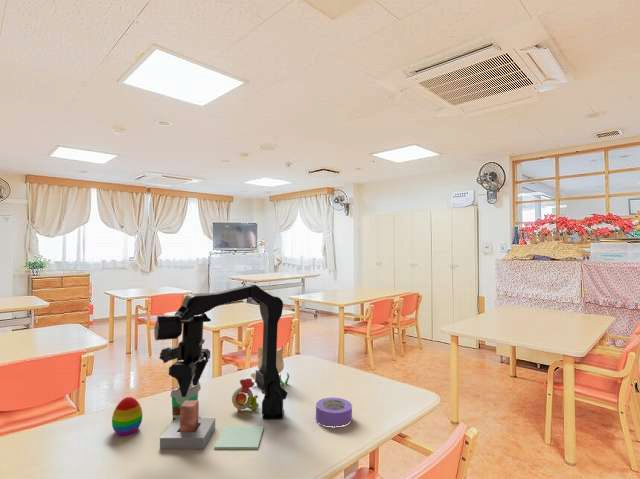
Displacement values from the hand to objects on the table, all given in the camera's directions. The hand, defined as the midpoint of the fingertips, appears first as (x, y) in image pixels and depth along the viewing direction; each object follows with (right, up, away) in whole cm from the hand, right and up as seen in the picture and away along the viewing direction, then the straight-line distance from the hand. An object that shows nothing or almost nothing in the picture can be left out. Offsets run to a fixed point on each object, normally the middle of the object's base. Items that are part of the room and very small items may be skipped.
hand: (189, 390), depth 108 cm
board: (+15, -14, 0) cm, 20 cm away
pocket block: (0, -14, -1) cm, 14 cm away
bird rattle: (+13, -14, +18) cm, 27 cm away
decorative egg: (-20, -14, +3) cm, 24 cm away
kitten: (+18, -15, +44) cm, 50 cm away
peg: (0, -14, -1) cm, 14 cm away
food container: (-5, -14, +14) cm, 21 cm away
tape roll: (+43, -15, +12) cm, 47 cm away
